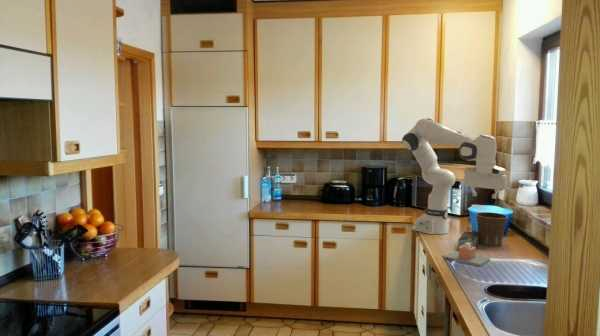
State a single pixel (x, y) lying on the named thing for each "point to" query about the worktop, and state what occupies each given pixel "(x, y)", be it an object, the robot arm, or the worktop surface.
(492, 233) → the plant pot
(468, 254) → the collar
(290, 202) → the worktop surface
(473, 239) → the beverage carton
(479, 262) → the post board
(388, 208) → the worktop surface
